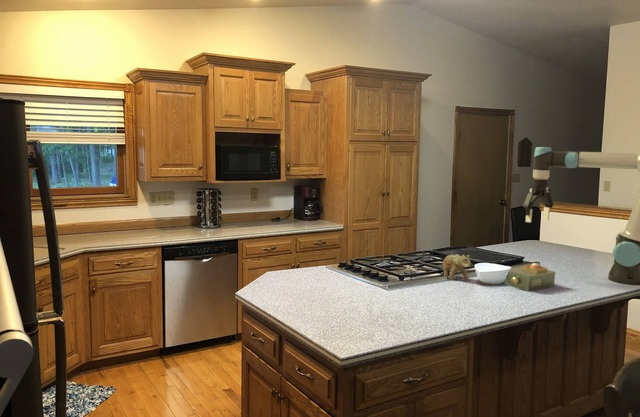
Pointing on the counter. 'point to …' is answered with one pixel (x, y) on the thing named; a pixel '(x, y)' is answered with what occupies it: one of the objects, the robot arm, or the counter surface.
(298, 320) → the counter surface
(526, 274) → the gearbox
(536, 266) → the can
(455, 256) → the figurine
